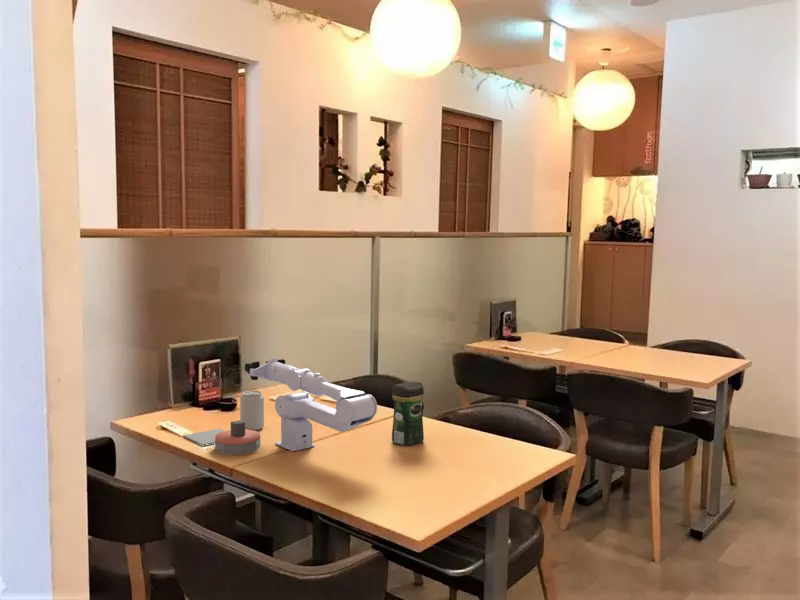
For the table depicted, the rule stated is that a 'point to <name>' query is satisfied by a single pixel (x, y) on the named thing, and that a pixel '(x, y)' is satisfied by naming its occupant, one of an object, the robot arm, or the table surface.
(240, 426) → the lid
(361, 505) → the table surface
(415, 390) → the coffee jar
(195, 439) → the mat
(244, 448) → the bowl
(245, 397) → the can
